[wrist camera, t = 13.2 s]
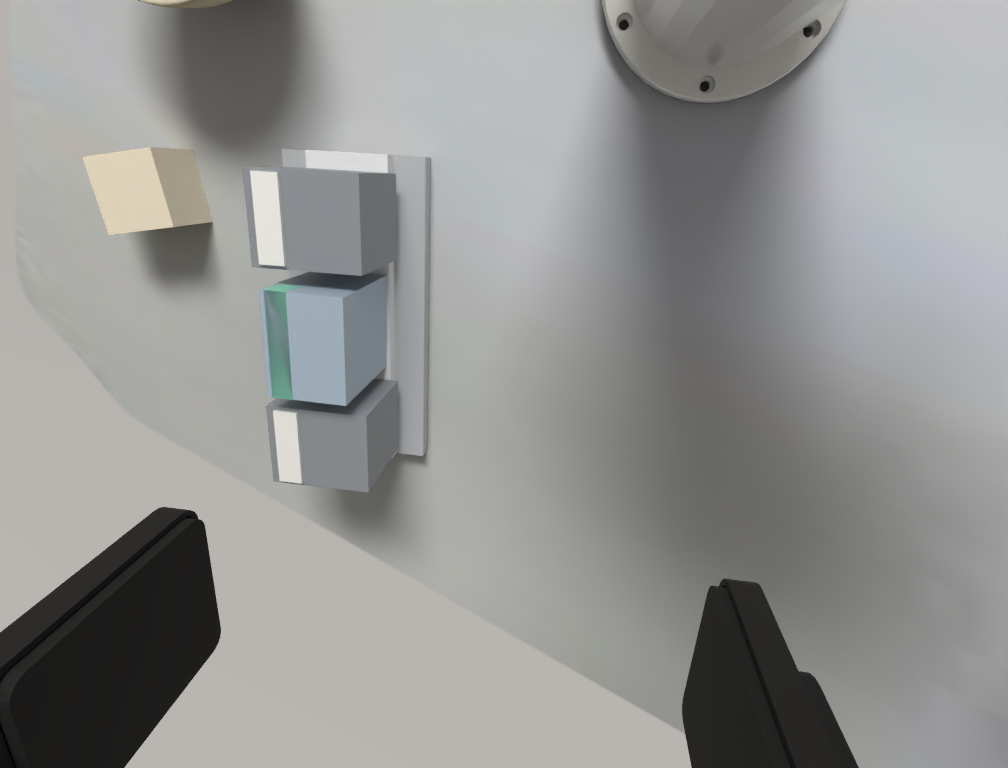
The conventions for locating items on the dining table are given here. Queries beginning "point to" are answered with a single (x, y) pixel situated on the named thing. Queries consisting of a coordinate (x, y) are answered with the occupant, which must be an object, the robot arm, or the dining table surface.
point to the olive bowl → (186, 3)
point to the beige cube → (148, 189)
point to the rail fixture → (356, 251)
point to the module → (324, 335)
